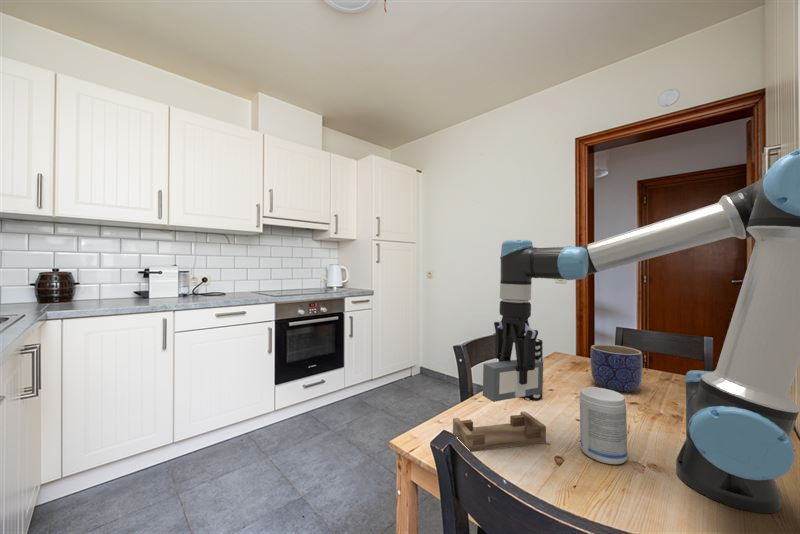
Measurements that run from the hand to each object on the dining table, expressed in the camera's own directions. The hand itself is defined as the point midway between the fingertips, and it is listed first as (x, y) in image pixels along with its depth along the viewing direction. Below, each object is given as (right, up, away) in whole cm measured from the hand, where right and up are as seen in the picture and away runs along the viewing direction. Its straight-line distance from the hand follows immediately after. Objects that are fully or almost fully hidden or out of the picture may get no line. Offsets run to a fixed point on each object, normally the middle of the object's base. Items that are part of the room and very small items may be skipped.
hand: (513, 392), depth 81 cm
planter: (+54, -15, +42) cm, 70 cm away
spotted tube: (+17, -14, +32) cm, 39 cm away
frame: (0, 0, 0) cm, 0 cm away
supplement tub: (+20, -14, -4) cm, 25 cm away
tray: (-3, -13, +3) cm, 14 cm away
